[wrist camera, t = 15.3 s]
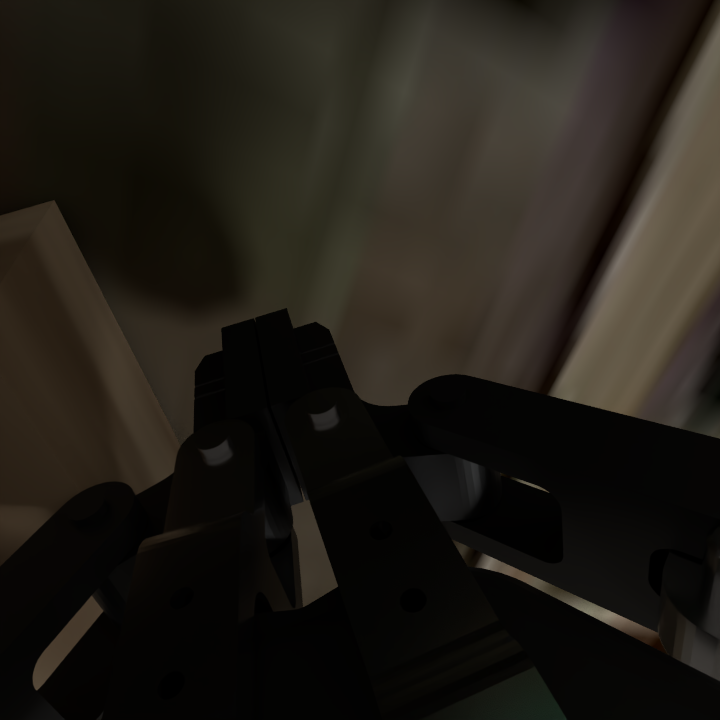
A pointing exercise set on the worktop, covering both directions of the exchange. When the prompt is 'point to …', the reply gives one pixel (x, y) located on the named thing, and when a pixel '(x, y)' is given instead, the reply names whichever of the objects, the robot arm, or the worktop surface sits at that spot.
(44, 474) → the block
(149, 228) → the worktop surface
